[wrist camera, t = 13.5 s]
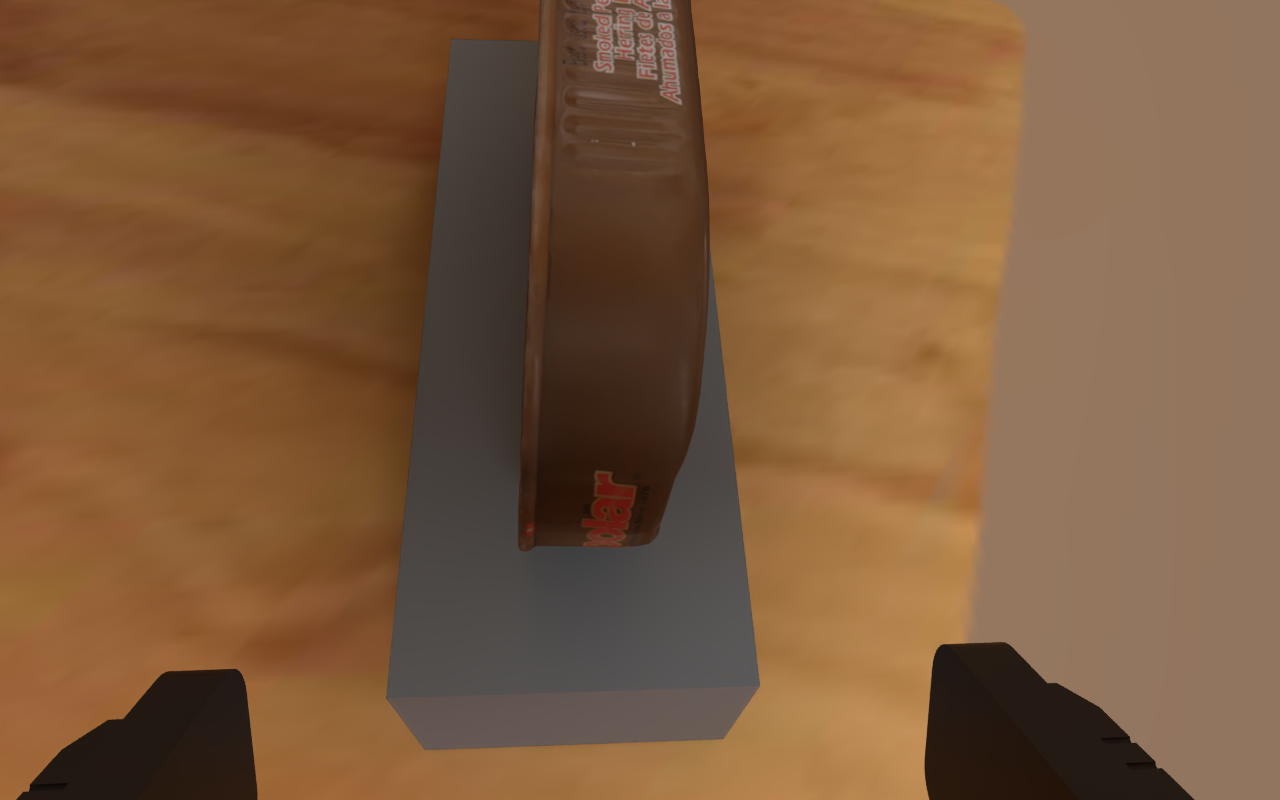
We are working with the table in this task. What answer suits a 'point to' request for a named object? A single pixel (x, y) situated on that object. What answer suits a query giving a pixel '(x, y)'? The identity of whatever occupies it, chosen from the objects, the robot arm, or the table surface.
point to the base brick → (489, 494)
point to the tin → (612, 272)
